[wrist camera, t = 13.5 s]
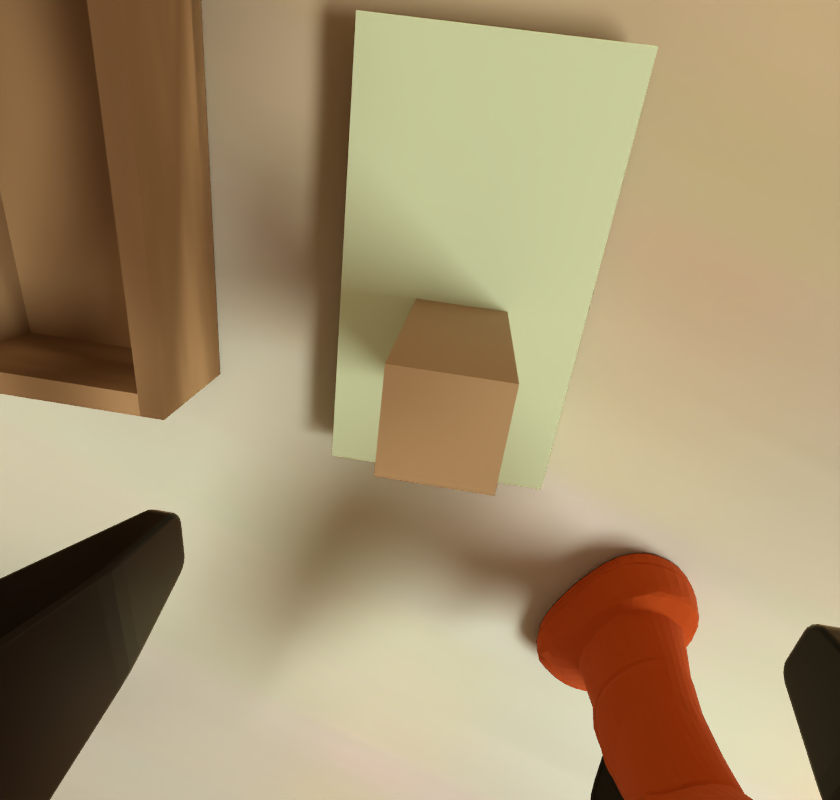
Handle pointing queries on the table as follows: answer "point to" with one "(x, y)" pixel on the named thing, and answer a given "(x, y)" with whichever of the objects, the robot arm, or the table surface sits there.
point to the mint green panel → (473, 240)
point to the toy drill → (638, 680)
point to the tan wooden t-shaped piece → (105, 205)
